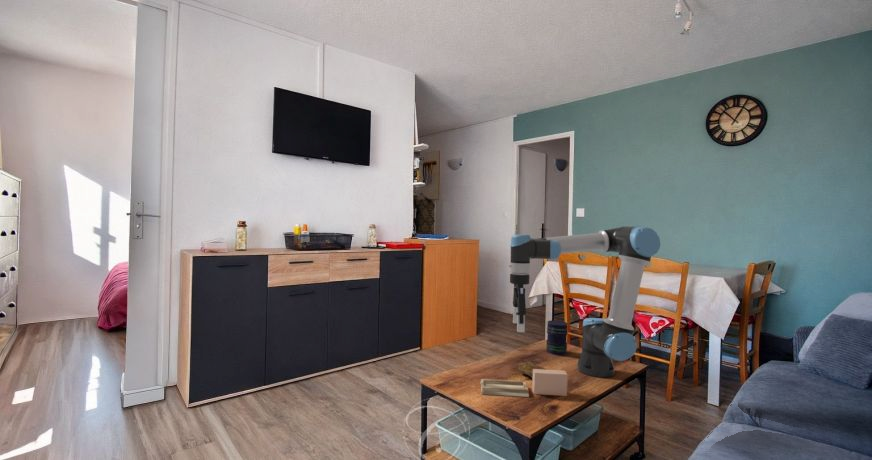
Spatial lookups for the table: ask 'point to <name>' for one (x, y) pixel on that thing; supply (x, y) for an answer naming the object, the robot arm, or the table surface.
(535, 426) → the table surface
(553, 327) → the storage jar
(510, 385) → the cream rectangular tray
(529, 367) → the decorative rock
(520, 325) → the robot arm
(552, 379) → the clay block
